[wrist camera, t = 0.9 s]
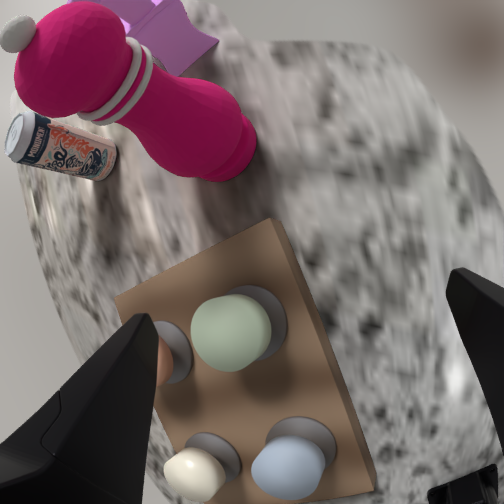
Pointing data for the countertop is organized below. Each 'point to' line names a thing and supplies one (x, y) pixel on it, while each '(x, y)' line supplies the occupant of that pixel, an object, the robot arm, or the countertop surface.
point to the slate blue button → (289, 467)
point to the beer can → (59, 147)
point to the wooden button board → (253, 369)
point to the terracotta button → (164, 363)
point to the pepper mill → (127, 91)
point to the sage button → (230, 332)
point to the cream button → (194, 474)
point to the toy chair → (161, 30)
